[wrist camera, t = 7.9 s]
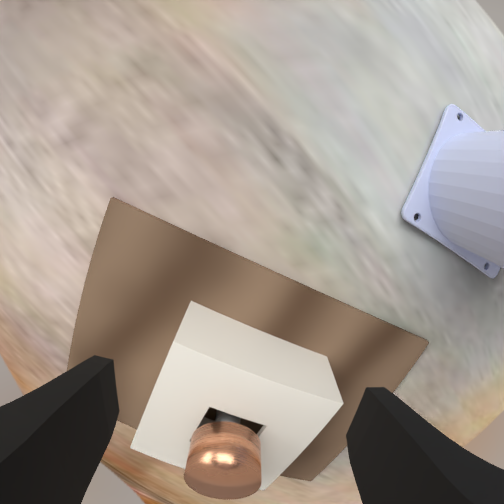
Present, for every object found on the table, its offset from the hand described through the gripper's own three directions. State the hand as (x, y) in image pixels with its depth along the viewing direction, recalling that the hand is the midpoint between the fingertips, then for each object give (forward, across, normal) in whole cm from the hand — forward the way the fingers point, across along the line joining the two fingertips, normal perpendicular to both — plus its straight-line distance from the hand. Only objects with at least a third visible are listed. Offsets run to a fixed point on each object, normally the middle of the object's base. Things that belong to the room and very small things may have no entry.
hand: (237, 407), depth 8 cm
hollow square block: (+10, 0, +7) cm, 13 cm away
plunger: (+9, 0, +7) cm, 12 cm away
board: (+10, 0, +7) cm, 13 cm away
